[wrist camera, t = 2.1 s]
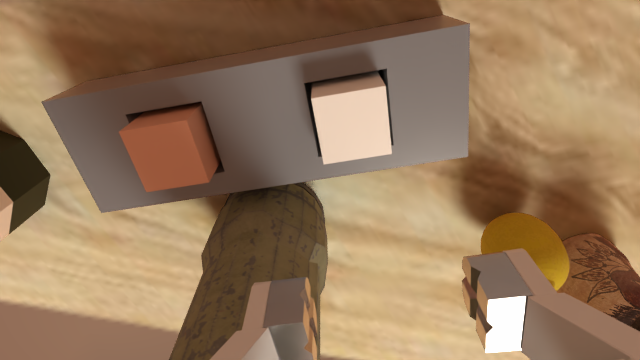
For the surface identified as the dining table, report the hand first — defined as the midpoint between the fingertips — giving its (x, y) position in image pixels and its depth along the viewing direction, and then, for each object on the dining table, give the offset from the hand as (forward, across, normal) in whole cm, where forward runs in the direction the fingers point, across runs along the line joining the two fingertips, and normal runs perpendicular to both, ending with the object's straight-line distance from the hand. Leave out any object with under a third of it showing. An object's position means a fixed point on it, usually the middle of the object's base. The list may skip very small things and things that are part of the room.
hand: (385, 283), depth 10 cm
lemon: (+19, -12, +14) cm, 26 cm away
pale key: (+16, 0, 0) cm, 16 cm away
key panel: (+19, +6, 0) cm, 20 cm away
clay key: (+16, +11, 0) cm, 19 cm away
